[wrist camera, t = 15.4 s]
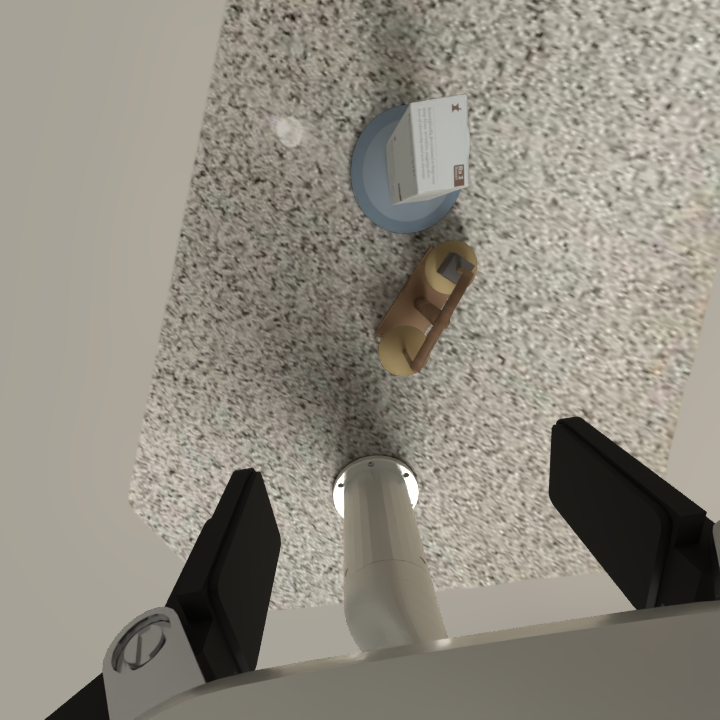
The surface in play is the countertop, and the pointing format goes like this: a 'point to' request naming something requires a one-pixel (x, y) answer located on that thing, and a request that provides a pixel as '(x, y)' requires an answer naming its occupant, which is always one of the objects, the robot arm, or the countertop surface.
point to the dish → (374, 184)
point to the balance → (425, 307)
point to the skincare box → (429, 150)
